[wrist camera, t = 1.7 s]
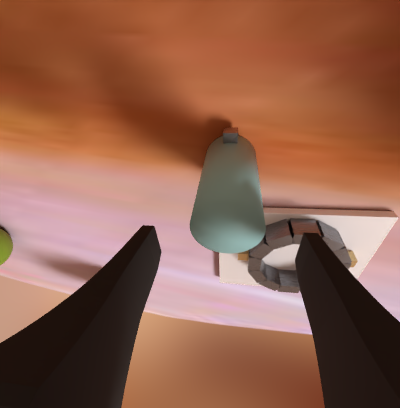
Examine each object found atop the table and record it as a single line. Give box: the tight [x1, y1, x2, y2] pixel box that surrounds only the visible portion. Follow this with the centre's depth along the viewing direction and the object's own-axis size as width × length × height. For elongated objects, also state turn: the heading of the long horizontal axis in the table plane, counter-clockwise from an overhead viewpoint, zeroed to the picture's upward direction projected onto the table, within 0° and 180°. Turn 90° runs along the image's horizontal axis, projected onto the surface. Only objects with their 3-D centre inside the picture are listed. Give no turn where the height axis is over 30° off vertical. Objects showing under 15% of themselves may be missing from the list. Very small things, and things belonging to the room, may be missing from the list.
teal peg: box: [190, 128, 266, 254], centre depth 15 cm, size 4×5×8 cm
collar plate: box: [219, 207, 399, 293], centre depth 23 cm, size 15×12×3 cm
